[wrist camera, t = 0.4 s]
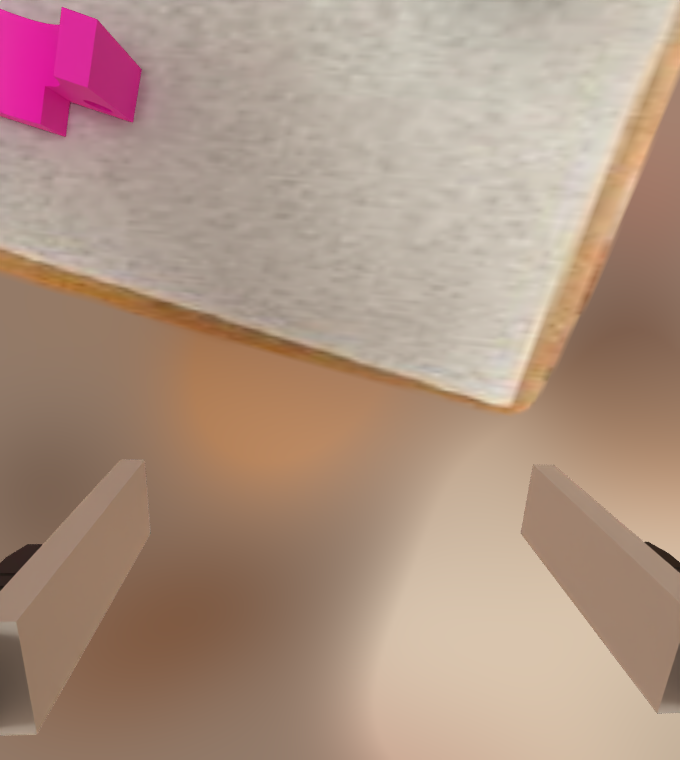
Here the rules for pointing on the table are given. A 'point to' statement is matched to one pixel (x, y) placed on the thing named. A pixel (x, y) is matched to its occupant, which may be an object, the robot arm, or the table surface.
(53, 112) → the toy block
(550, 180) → the table surface
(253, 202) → the table surface
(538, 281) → the table surface
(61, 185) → the table surface
